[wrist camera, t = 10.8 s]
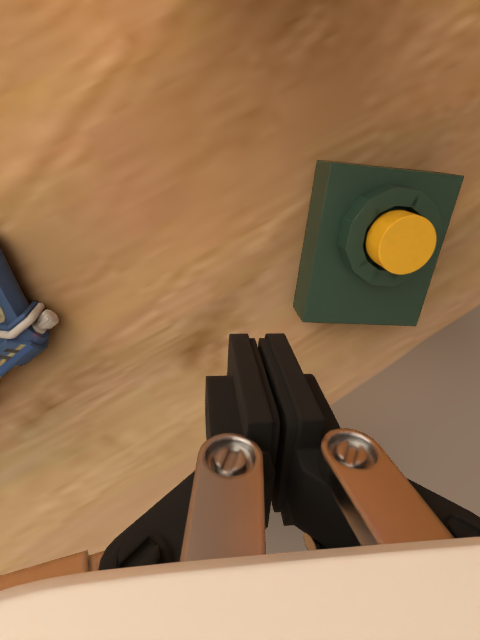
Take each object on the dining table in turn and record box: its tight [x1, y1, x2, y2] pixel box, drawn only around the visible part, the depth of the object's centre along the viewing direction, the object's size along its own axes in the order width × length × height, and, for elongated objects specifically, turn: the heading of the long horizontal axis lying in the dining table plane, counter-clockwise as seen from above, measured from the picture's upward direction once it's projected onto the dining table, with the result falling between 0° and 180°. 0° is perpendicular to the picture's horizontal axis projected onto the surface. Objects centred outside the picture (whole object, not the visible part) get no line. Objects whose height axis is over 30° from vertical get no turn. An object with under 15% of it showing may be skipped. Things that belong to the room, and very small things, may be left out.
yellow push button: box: [366, 210, 436, 275], centre depth 26 cm, size 4×4×2 cm
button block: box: [293, 160, 464, 326], centre depth 30 cm, size 12×10×5 cm
